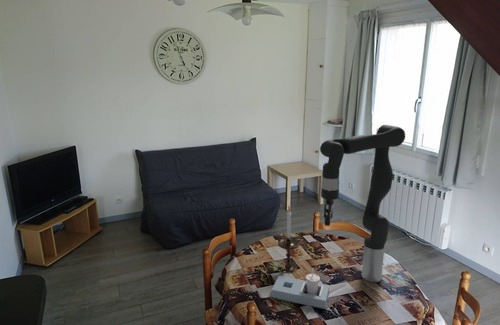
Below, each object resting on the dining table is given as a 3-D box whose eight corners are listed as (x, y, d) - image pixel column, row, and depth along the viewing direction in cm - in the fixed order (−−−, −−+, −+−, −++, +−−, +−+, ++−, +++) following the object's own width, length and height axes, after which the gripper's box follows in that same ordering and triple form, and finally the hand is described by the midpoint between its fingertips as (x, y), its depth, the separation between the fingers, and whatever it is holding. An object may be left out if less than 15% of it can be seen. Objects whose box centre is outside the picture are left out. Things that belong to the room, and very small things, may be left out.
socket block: (278, 283, 166) (278, 275, 165) (329, 293, 158) (329, 284, 157) (271, 297, 155) (271, 289, 154) (325, 309, 147) (325, 300, 146)
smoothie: (317, 292, 159) (318, 264, 155) (320, 300, 152) (322, 272, 149) (303, 292, 158) (304, 265, 155) (306, 301, 152) (307, 272, 149)
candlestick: (292, 275, 172) (293, 210, 164) (273, 269, 178) (274, 205, 170) (302, 266, 180) (304, 203, 172) (284, 260, 187) (285, 199, 178)
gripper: (323, 181, 156) (322, 214, 160) (318, 191, 143) (317, 227, 147) (340, 183, 154) (338, 217, 157) (337, 192, 141) (335, 229, 144)
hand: (328, 221), depth 152 cm, fingers open, 8 cm apart
